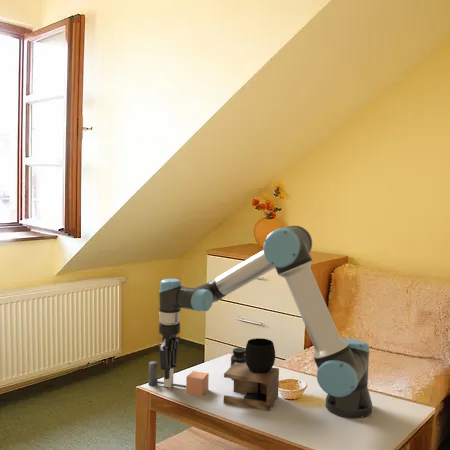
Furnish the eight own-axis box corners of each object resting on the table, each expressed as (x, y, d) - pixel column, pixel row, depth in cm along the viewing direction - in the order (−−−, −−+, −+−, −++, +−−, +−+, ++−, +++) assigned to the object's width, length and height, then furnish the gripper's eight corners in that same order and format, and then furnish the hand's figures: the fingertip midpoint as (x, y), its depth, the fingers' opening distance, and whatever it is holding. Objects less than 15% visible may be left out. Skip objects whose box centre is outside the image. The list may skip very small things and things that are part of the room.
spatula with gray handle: (208, 389, 188) (208, 367, 187) (202, 395, 182) (202, 373, 181) (152, 380, 195) (153, 359, 194) (145, 386, 189) (145, 364, 189)
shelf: (278, 396, 182) (279, 368, 182) (269, 410, 171) (270, 380, 170) (234, 390, 188) (235, 362, 187) (223, 403, 176) (224, 373, 175)
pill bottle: (228, 375, 201) (228, 347, 200) (243, 374, 203) (244, 346, 202) (233, 381, 195) (234, 352, 194) (248, 380, 197) (249, 351, 196)
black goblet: (258, 407, 174) (259, 348, 172) (237, 397, 182) (238, 341, 180) (280, 399, 180) (281, 343, 178) (259, 390, 188) (261, 335, 186)
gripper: (168, 316, 195) (167, 377, 197) (151, 325, 182) (150, 391, 184) (186, 318, 193) (185, 380, 195) (170, 328, 180) (169, 394, 182)
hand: (168, 385), depth 190 cm, fingers closed, pressing on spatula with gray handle
